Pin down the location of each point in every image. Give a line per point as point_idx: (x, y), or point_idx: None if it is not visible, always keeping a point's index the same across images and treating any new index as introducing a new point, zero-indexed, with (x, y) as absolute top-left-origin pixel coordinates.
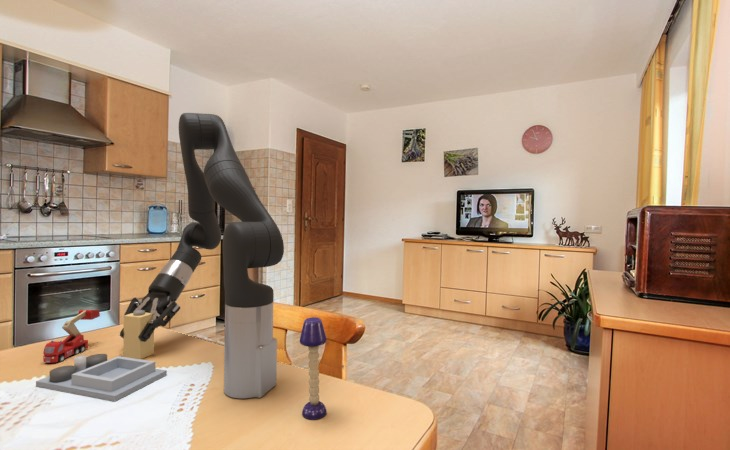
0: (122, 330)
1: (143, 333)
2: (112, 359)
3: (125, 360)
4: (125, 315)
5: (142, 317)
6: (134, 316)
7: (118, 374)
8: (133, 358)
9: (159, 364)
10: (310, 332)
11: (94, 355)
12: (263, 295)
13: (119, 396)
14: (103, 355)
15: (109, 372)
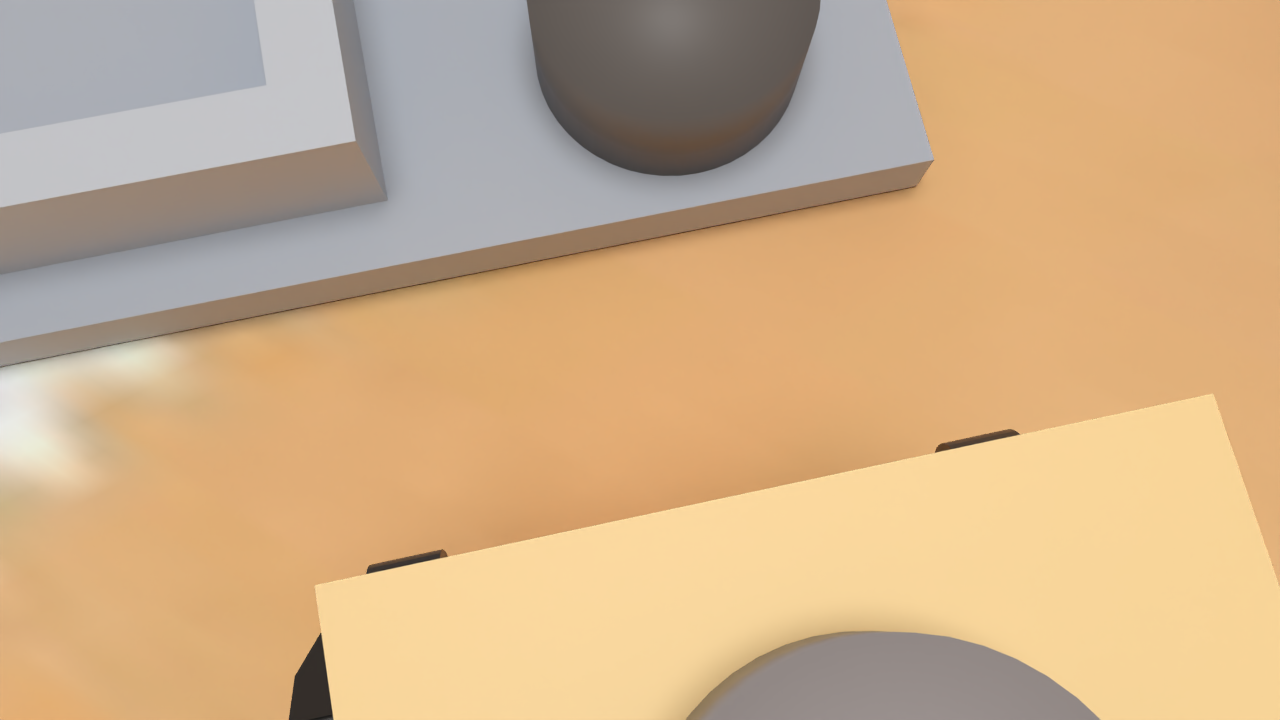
0: None
1: None
2: (296, 19)
3: (108, 119)
4: (1174, 443)
5: (336, 701)
6: (697, 551)
7: (61, 26)
8: (24, 202)
9: (35, 647)
10: None
11: (775, 7)
12: None
13: None
14: (652, 72)
15: (239, 7)
